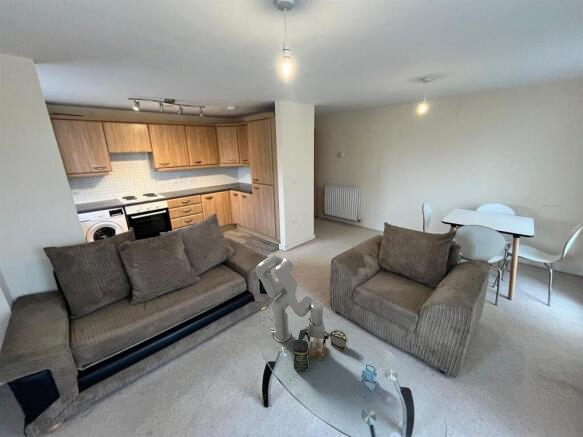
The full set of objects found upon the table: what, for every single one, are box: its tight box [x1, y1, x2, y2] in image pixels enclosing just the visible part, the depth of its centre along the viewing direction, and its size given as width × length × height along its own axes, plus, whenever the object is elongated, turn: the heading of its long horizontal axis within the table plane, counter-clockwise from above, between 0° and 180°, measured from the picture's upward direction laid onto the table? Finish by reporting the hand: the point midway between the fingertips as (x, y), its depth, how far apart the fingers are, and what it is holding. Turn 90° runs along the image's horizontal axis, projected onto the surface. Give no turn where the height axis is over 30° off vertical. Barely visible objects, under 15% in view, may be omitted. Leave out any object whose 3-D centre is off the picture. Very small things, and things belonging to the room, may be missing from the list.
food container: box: [329, 329, 348, 352], centre depth 160 cm, size 12×6×10 cm, turn 58°
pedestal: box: [308, 340, 327, 361], centre depth 157 cm, size 10×10×4 cm
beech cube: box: [312, 337, 323, 353], centre depth 155 cm, size 6×6×6 cm
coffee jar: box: [292, 339, 310, 372], centre depth 146 cm, size 10×8×19 cm
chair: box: [360, 363, 379, 394], centre depth 134 cm, size 8×8×12 cm
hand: (316, 341), depth 155 cm, fingers open, 9 cm apart
